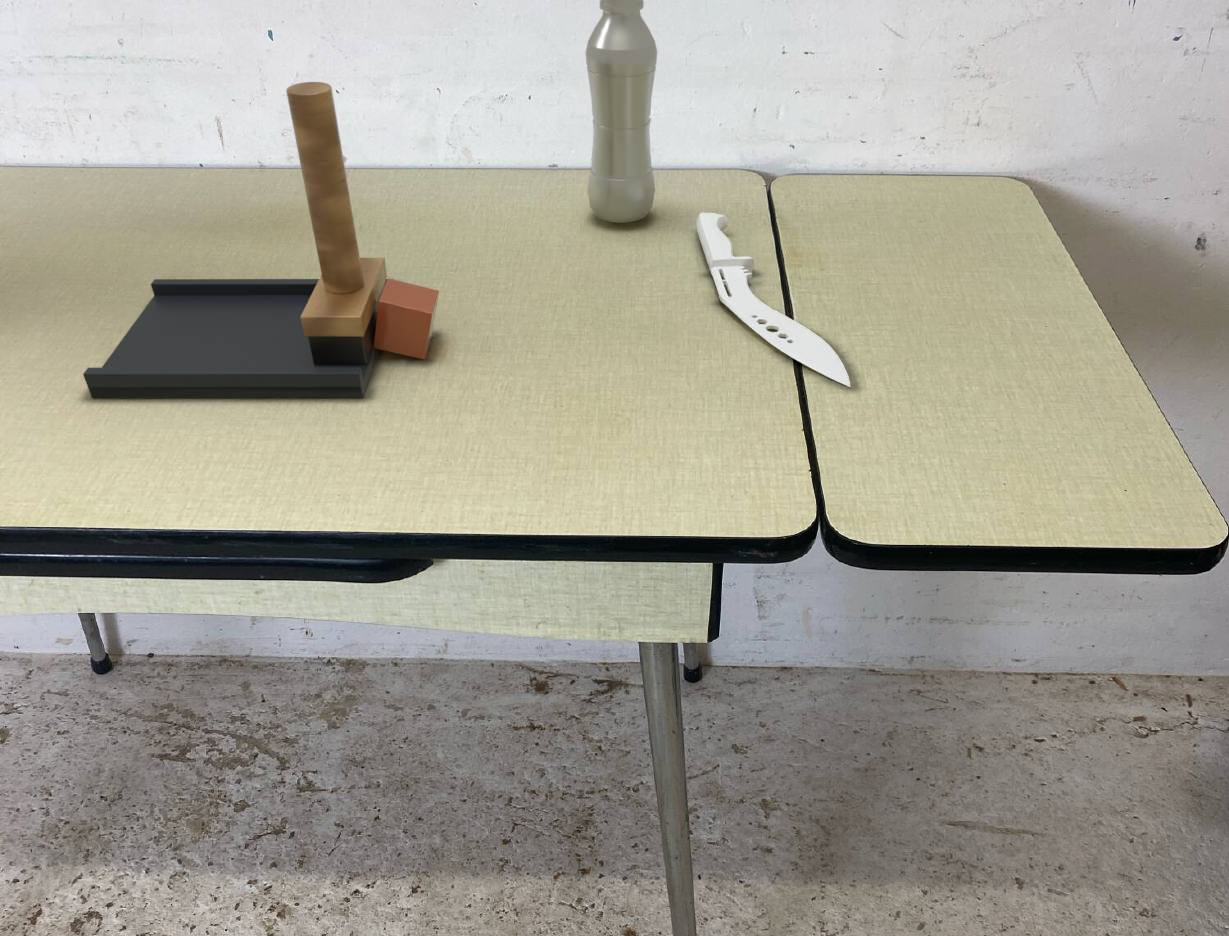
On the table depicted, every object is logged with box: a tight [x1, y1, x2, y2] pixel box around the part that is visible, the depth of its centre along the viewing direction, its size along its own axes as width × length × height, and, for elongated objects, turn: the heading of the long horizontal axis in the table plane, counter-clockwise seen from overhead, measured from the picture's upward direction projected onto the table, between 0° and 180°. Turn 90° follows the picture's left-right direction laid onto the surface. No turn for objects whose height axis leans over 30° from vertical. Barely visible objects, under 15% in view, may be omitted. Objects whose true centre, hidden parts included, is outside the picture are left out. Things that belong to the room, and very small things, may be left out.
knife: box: [695, 212, 851, 388], centre depth 90 cm, size 30×2×8 cm
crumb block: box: [373, 277, 440, 360], centre depth 83 cm, size 4×4×4 cm
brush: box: [285, 81, 388, 365], centre depth 78 cm, size 4×10×18 cm, turn 0°
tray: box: [82, 278, 395, 399], centre depth 84 cm, size 20×16×2 cm
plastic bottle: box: [585, 0, 658, 224], centre depth 98 cm, size 6×7×20 cm
